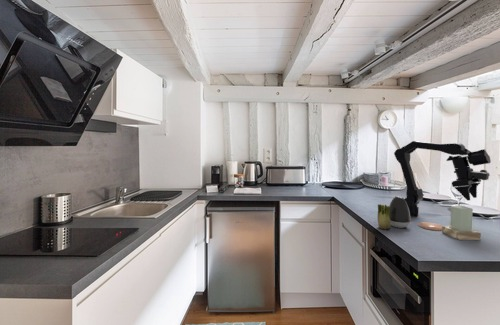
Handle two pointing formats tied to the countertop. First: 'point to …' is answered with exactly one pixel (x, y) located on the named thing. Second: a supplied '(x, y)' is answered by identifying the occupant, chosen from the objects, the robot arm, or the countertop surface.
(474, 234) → the square socket
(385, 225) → the green drip glaze vase
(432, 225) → the pad
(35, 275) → the countertop surface
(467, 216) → the square plug
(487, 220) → the countertop surface
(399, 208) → the grey smart speaker
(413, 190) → the robot arm
